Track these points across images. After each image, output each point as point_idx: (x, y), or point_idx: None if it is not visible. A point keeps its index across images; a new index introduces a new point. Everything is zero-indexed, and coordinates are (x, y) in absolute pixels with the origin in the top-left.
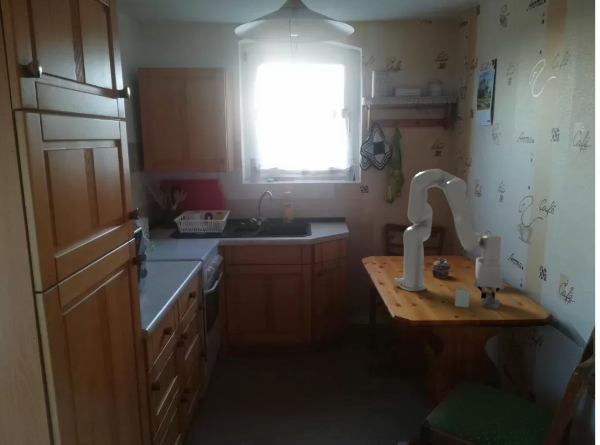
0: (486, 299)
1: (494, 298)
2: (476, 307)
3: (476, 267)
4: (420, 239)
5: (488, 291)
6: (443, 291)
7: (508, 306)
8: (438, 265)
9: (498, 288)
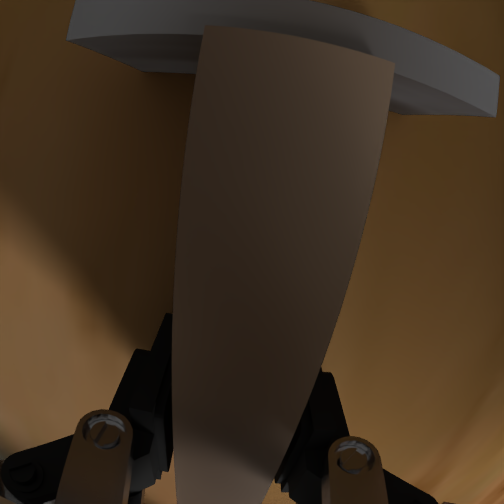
0: (415, 36)
1: (136, 358)
2: None
3: None
4: None
5: (214, 483)
6: (484, 456)
7: (8, 183)
8: None
9: (16, 487)
